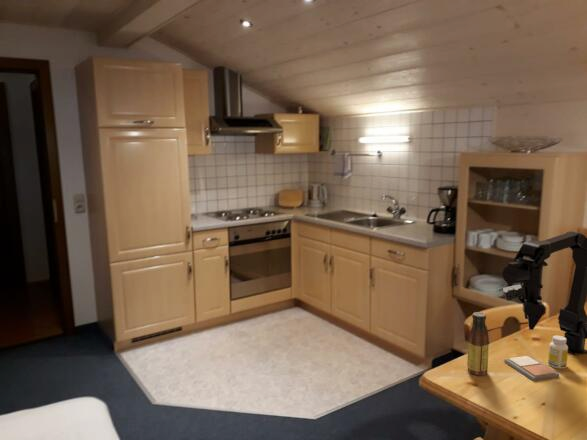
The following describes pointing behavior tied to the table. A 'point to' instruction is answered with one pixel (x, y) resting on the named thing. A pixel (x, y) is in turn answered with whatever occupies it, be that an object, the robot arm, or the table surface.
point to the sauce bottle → (478, 346)
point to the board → (531, 368)
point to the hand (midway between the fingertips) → (528, 324)
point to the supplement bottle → (558, 352)
